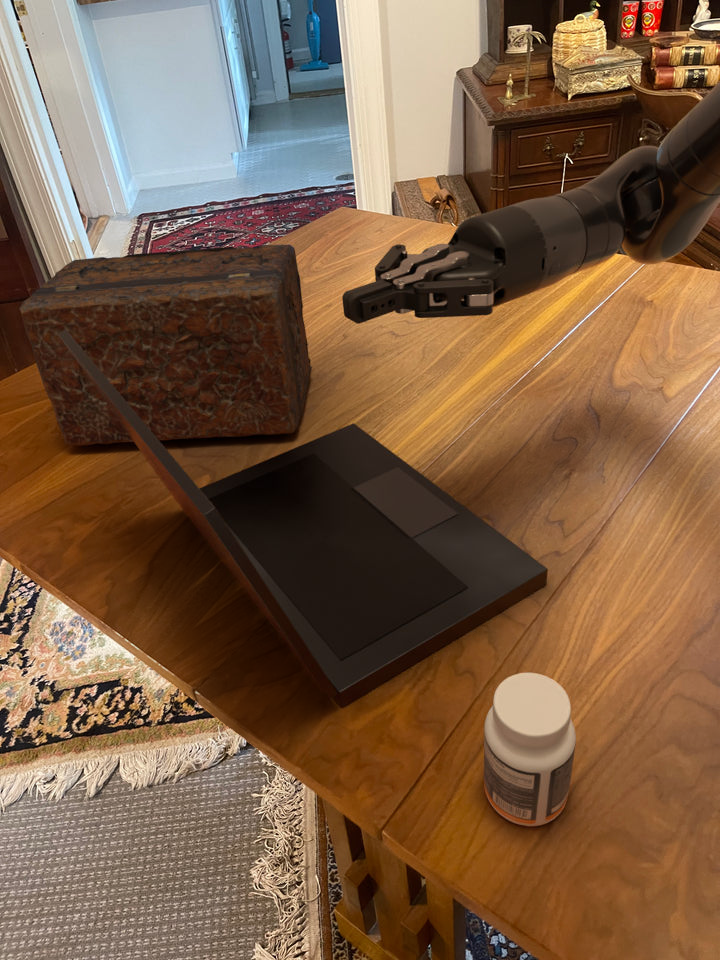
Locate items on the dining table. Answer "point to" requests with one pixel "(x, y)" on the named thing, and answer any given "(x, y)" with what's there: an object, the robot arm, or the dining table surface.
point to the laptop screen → (200, 514)
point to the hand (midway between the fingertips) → (348, 309)
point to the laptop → (369, 556)
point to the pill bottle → (528, 749)
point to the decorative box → (175, 342)
